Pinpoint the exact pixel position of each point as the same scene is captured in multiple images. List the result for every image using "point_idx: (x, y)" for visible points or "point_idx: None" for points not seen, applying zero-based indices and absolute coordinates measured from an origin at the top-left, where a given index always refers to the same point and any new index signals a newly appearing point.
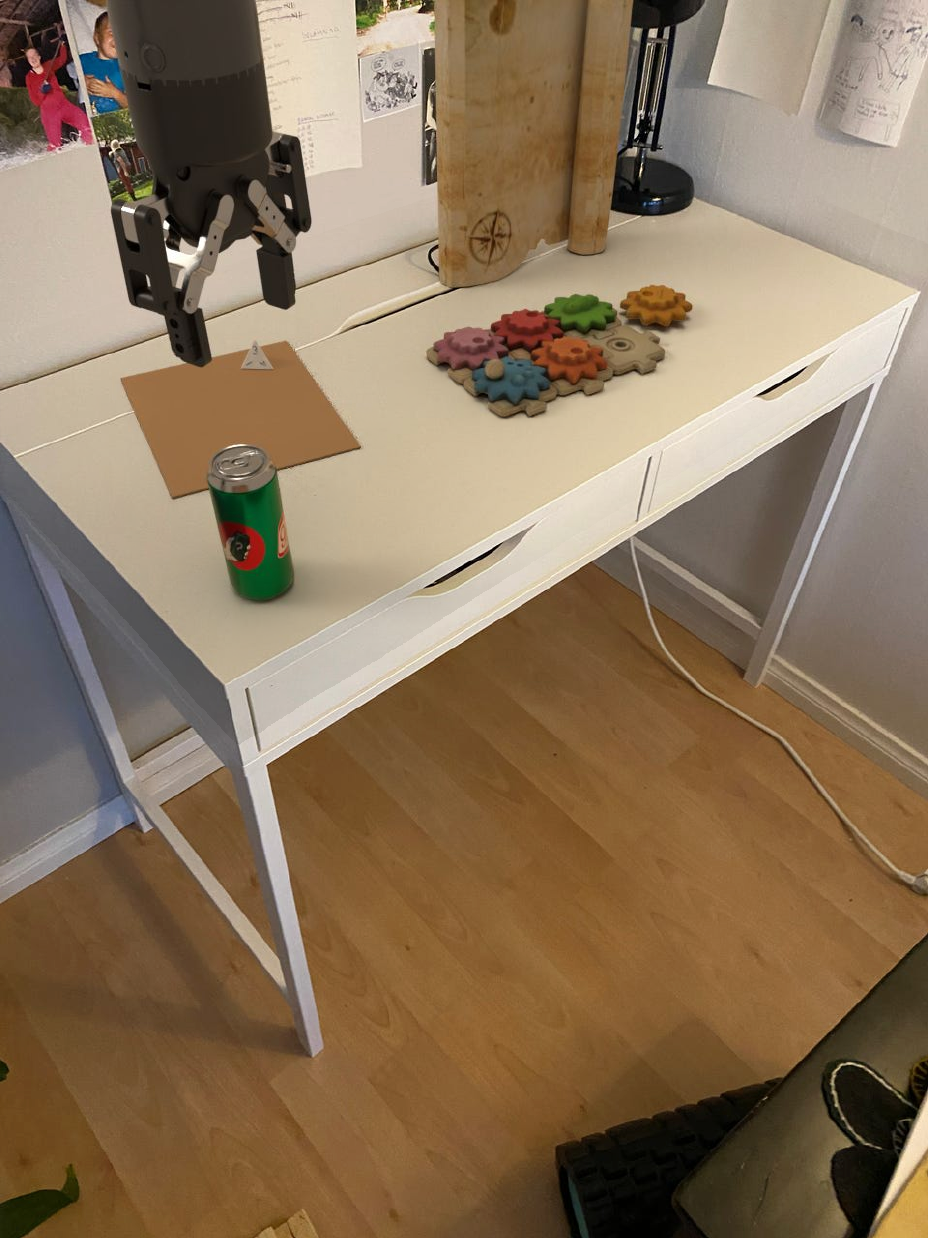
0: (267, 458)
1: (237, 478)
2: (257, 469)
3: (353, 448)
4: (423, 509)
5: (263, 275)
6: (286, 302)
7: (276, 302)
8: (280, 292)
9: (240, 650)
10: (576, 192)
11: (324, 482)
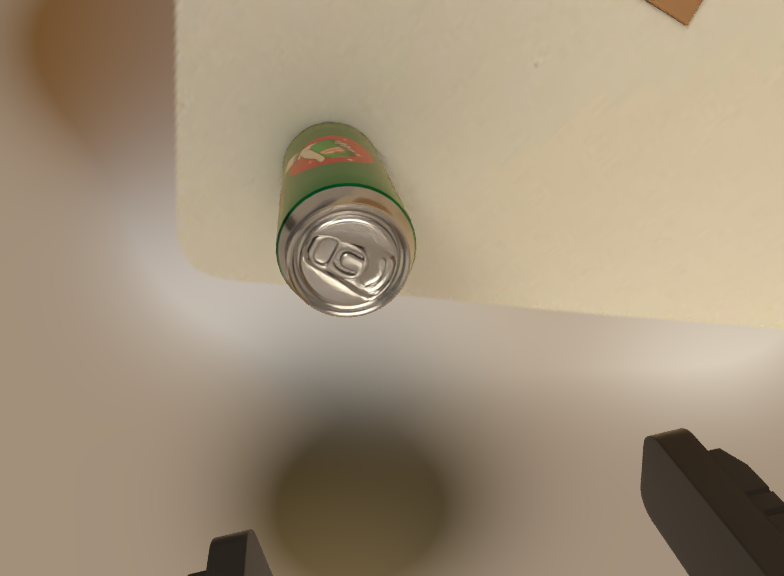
0: (393, 294)
1: (309, 304)
2: (357, 304)
3: (676, 19)
4: (593, 221)
5: (710, 521)
6: (655, 515)
7: (650, 480)
8: (674, 527)
9: (222, 248)
10: None
11: (572, 49)
